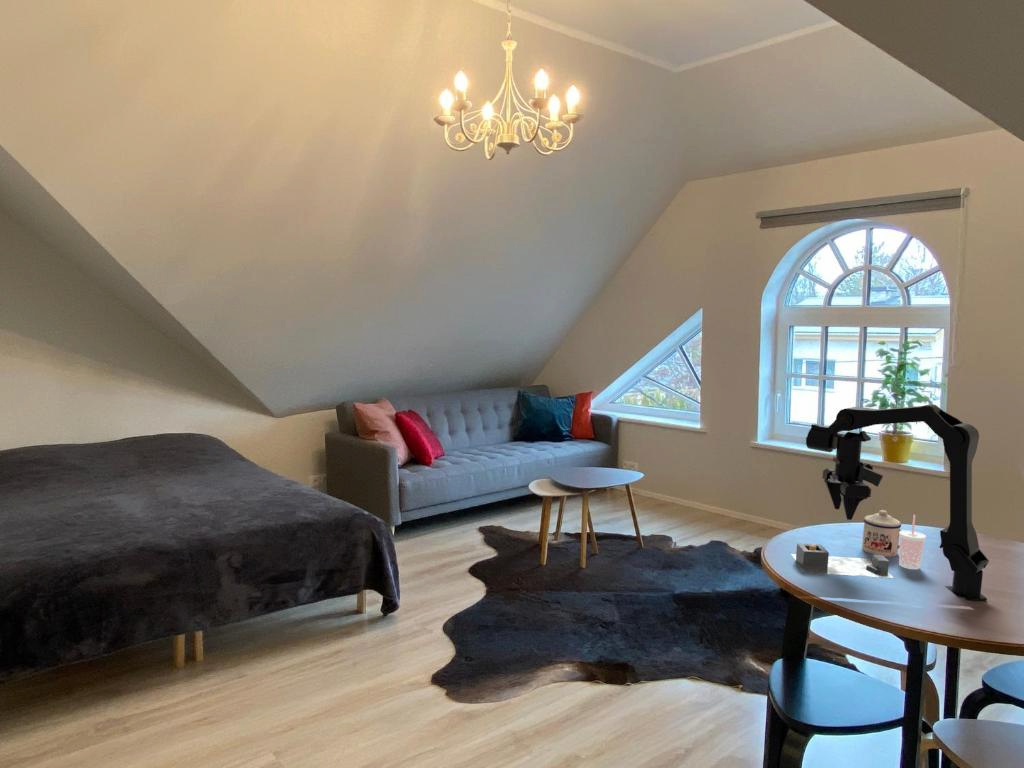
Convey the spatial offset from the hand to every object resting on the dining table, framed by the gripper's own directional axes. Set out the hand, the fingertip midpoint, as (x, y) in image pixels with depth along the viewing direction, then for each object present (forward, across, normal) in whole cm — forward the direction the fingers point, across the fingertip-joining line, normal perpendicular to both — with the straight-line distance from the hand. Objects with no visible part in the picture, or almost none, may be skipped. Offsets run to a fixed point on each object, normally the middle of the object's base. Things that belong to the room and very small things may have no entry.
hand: (842, 514), depth 194 cm
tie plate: (+12, -7, +2) cm, 14 cm away
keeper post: (+12, -8, +10) cm, 17 cm away
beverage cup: (+12, -4, -16) cm, 21 cm away
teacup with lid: (+12, +6, -14) cm, 20 cm away
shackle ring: (+11, -8, +10) cm, 17 cm away
